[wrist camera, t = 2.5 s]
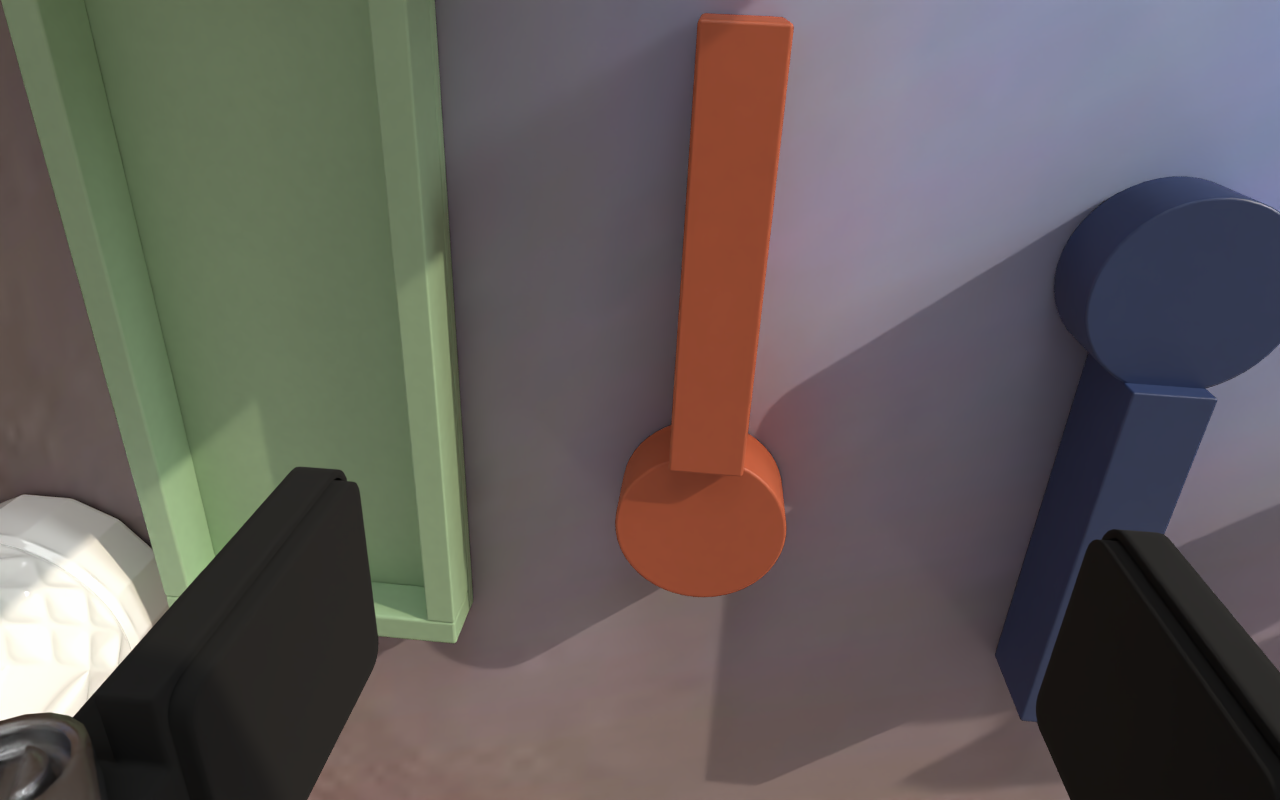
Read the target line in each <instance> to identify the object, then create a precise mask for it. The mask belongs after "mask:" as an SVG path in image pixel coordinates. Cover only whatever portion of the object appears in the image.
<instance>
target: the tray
mask: <svg viewBox="0 0 1280 800" xmlns="http://www.w3.org/2000/svg"><path fill="white" fill-rule="evenodd" d="M1 2H2V6H3V10H4V13H5V17H6V20H7V24H8V28H9V31H10V35H11V39H12V42H13V46H14V49H15V53H16V57H17V60H18V64H19V67H20V71H21V75H22V78H23V82H24V86H25V89H26V93H27V96H28V100H29V104H30V107H31V111H32V115H33V118H34V122H35V125H36V129H37V133H38V136H39V140H40V143H41V147H42V151H43V154H44V158H45V162H46V165H47V169H48V172H49V176H50V180H51V183H52V187H53V191H54V194H55V198H56V201H57V205H58V209H59V212H60V216H61V219H62V223H63V227H64V230H65V234H66V238H67V241H68V245H69V248H70V252H71V256H72V259H73V263H74V267H75V270H76V274H77V277H78V281H79V285H80V288H81V292H82V295H83V299H84V303H85V306H86V310H87V314H88V317H89V321H90V324H91V328H92V332H93V335H94V339H95V343H96V346H97V350H98V353H99V357H100V361H101V364H102V368H103V371H104V375H105V379H106V382H107V386H108V390H109V393H110V397H111V400H112V404H113V408H114V411H115V415H116V419H117V422H118V426H119V429H120V433H121V437H122V440H123V444H124V447H125V451H126V455H127V458H128V462H129V466H130V469H131V473H132V476H133V480H134V484H135V487H136V491H137V495H138V498H139V502H140V505H141V509H142V513H143V516H144V520H145V523H146V527H147V531H148V534H149V538H150V542H151V545H152V549H153V552H154V556H155V560H156V563H157V567H158V571H159V574H160V578H161V581H162V585H163V589H164V592H165V595H167V602H168V605H169V608H170V607H171V606H172V604H173V603H174V602H175V601H176V600H177V599H178V598H179V596H180V595H181V594H182V593H183V592H184V591H185V590H186V589H187V587H188V586H189V585H190V584H191V583H192V582H193V581H194V580H195V578H196V577H197V576H198V575H199V574H200V573H201V572H202V571H203V570H204V569H205V568H206V567H207V565H208V564H209V563H210V562H211V561H212V560H213V559H214V557H215V556H216V555H217V554H218V553H219V552H220V551H221V550H222V548H223V547H224V546H225V545H226V544H227V543H228V542H229V540H230V539H231V538H232V537H233V536H234V535H235V534H236V533H237V531H238V530H239V529H240V528H241V527H242V526H243V525H244V524H245V522H246V521H247V520H248V519H249V518H250V517H251V516H252V514H253V513H254V512H255V511H256V510H257V509H258V508H259V507H260V505H261V504H262V503H263V502H264V501H265V500H266V499H267V497H268V496H269V495H270V494H271V493H272V492H273V491H274V490H275V488H276V487H277V486H278V485H279V484H280V483H281V482H282V480H283V479H284V478H285V477H286V476H287V475H288V474H289V473H290V471H291V470H293V469H294V468H295V467H313V468H326V469H339V470H341V471H343V472H344V474H345V476H346V478H347V481H352V482H355V483H357V485H358V487H359V491H360V497H361V505H362V513H363V521H364V529H365V537H366V545H367V553H368V561H369V568H370V576H371V584H372V592H373V600H374V608H375V616H376V624H377V632H378V636H382V637H392V638H403V639H413V640H423V641H434V642H444V643H456V641H457V639H458V636H459V634H460V631H461V629H462V626H463V624H464V621H465V619H466V616H467V614H468V612H469V609H470V608H471V605H472V603H473V591H472V576H471V560H470V545H469V529H468V513H467V498H466V482H465V467H464V451H463V435H462V420H461V404H460V388H459V373H458V357H457V342H456V326H455V310H454V295H453V279H452V264H451V248H450V232H449V217H448V201H447V186H446V170H445V154H444V139H443V123H442V107H441V92H440V76H439V61H438V45H437V29H436V14H435V0H1Z"/></svg>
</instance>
